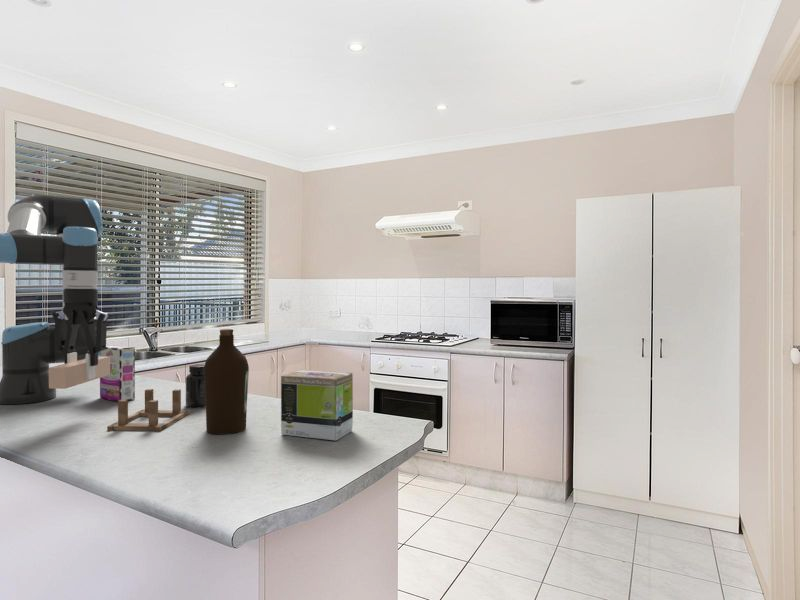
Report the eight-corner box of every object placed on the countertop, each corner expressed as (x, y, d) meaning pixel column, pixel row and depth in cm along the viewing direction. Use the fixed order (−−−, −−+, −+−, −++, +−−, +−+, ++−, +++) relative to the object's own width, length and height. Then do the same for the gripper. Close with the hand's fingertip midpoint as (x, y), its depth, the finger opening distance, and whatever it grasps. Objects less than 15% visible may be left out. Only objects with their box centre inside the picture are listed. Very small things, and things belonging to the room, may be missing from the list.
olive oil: (207, 437, 120) (207, 332, 119) (200, 426, 129) (200, 328, 128) (253, 431, 125) (253, 330, 124) (243, 421, 134) (243, 327, 134)
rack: (142, 412, 142) (142, 388, 142) (189, 413, 142) (189, 388, 142) (107, 430, 125) (107, 402, 125) (160, 431, 125) (160, 402, 125)
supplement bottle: (180, 406, 149) (180, 366, 149) (197, 401, 156) (197, 362, 155) (198, 409, 147) (198, 367, 146) (215, 404, 153) (215, 364, 153)
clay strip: (96, 374, 140) (95, 356, 140) (110, 374, 140) (110, 356, 140) (48, 388, 122) (48, 367, 122) (65, 388, 122) (64, 368, 122)
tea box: (353, 430, 127) (354, 372, 127) (335, 442, 118) (336, 379, 117) (300, 424, 132) (301, 368, 132) (279, 435, 123) (279, 374, 122)
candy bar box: (136, 399, 158) (135, 347, 157) (120, 402, 154) (120, 348, 153) (114, 395, 163) (114, 344, 163) (99, 398, 159) (98, 346, 159)
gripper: (37, 287, 127) (38, 380, 128) (105, 288, 127) (105, 381, 128) (57, 286, 134) (58, 374, 135) (122, 288, 134) (122, 376, 135)
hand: (81, 378), depth 131 cm, fingers closed on clay strip, 4 cm apart
